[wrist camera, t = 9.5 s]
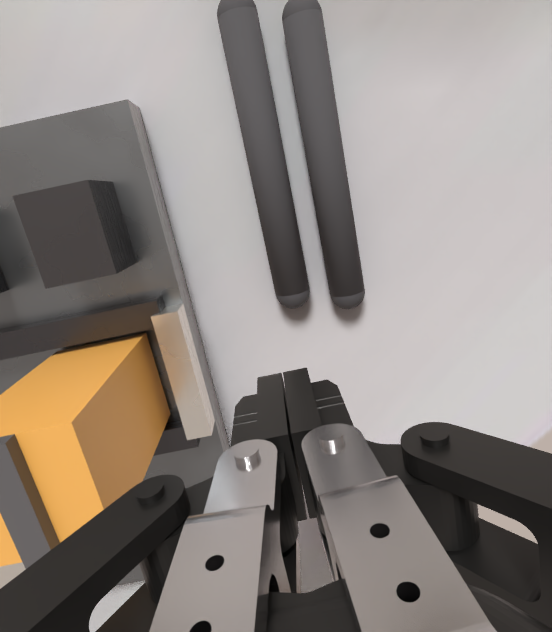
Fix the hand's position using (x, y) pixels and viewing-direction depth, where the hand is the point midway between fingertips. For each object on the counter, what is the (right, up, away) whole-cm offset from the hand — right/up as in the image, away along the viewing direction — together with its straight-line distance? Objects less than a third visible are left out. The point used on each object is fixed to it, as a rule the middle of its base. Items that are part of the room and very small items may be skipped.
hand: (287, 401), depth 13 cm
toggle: (-7, 0, +5) cm, 8 cm away
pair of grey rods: (+1, +9, +4) cm, 10 cm away
